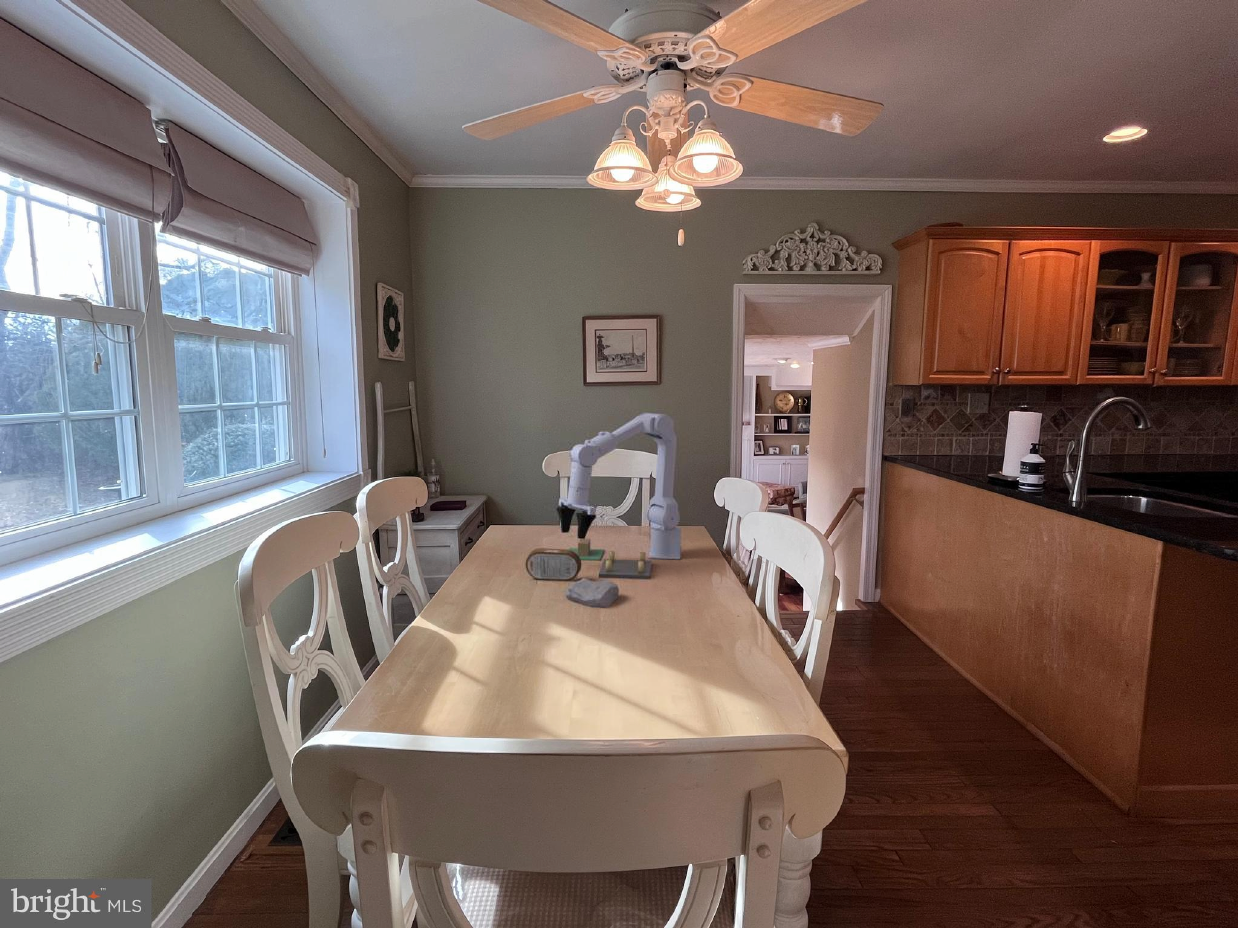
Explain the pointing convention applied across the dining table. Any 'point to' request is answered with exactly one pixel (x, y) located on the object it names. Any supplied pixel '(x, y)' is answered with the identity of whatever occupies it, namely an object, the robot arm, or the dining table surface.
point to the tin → (553, 564)
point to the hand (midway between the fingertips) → (573, 535)
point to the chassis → (626, 567)
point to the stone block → (593, 593)
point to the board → (593, 553)
